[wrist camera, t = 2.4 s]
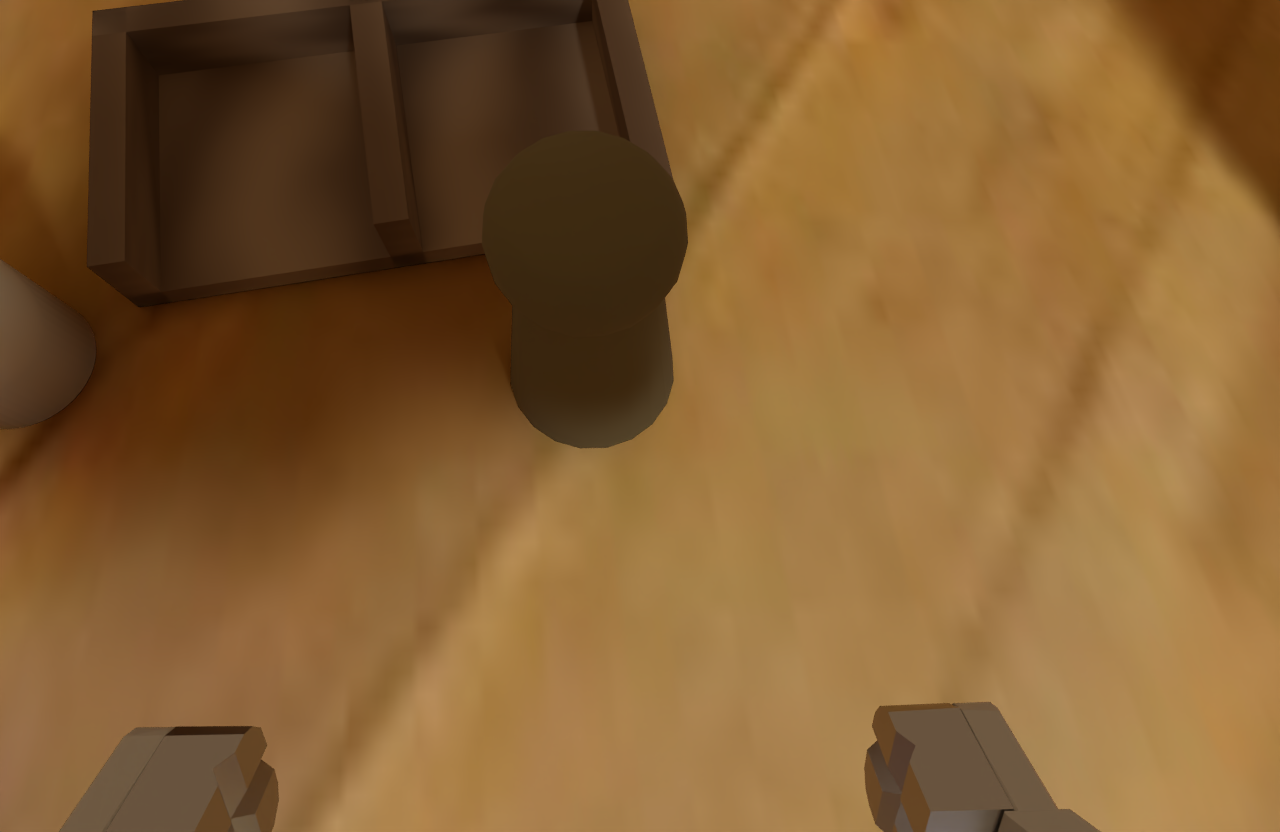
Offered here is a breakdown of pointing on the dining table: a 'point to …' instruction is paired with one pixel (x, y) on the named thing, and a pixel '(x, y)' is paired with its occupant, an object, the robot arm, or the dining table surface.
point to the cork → (587, 283)
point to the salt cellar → (39, 351)
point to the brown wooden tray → (332, 130)
